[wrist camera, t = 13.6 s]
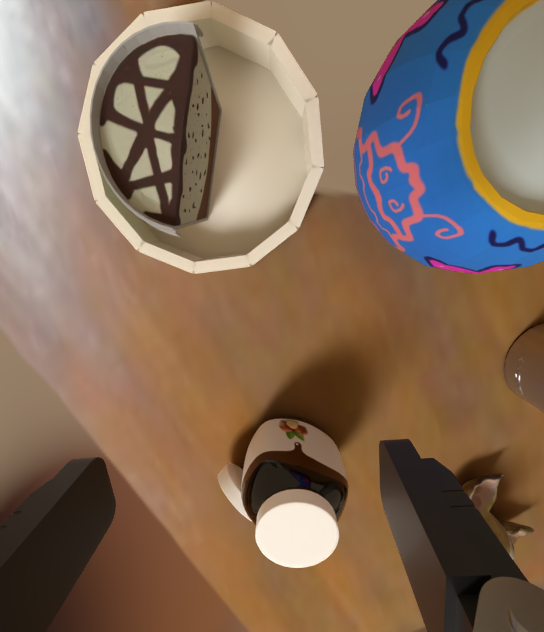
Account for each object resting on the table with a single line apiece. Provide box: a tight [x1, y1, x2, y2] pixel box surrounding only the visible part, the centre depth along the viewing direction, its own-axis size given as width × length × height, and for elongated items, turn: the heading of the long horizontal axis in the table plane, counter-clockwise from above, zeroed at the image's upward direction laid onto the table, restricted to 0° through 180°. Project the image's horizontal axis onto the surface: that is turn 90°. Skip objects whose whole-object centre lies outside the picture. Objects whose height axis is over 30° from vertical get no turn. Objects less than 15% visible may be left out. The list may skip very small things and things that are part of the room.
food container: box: [90, 21, 222, 237], centre depth 24 cm, size 12×6×10 cm, turn 169°
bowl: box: [78, 1, 324, 274], centre depth 27 cm, size 19×19×4 cm
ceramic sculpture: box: [462, 474, 534, 561], centre depth 35 cm, size 11×9×15 cm
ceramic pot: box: [353, 0, 544, 273], centre depth 22 cm, size 18×18×15 cm
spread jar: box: [218, 417, 348, 568], centre depth 32 cm, size 12×11×12 cm
